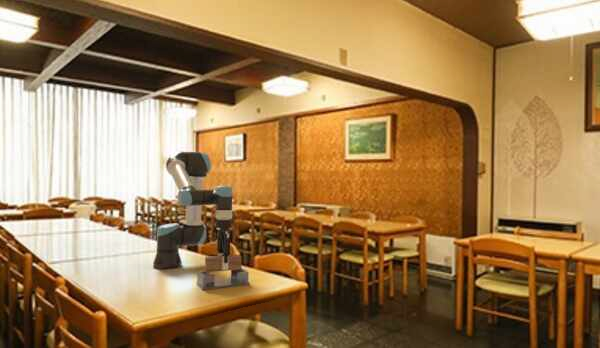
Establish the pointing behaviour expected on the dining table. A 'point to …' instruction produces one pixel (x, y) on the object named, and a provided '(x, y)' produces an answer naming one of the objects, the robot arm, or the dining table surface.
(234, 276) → the bracket
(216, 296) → the dining table surface
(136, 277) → the dining table surface
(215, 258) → the brown wooden block
